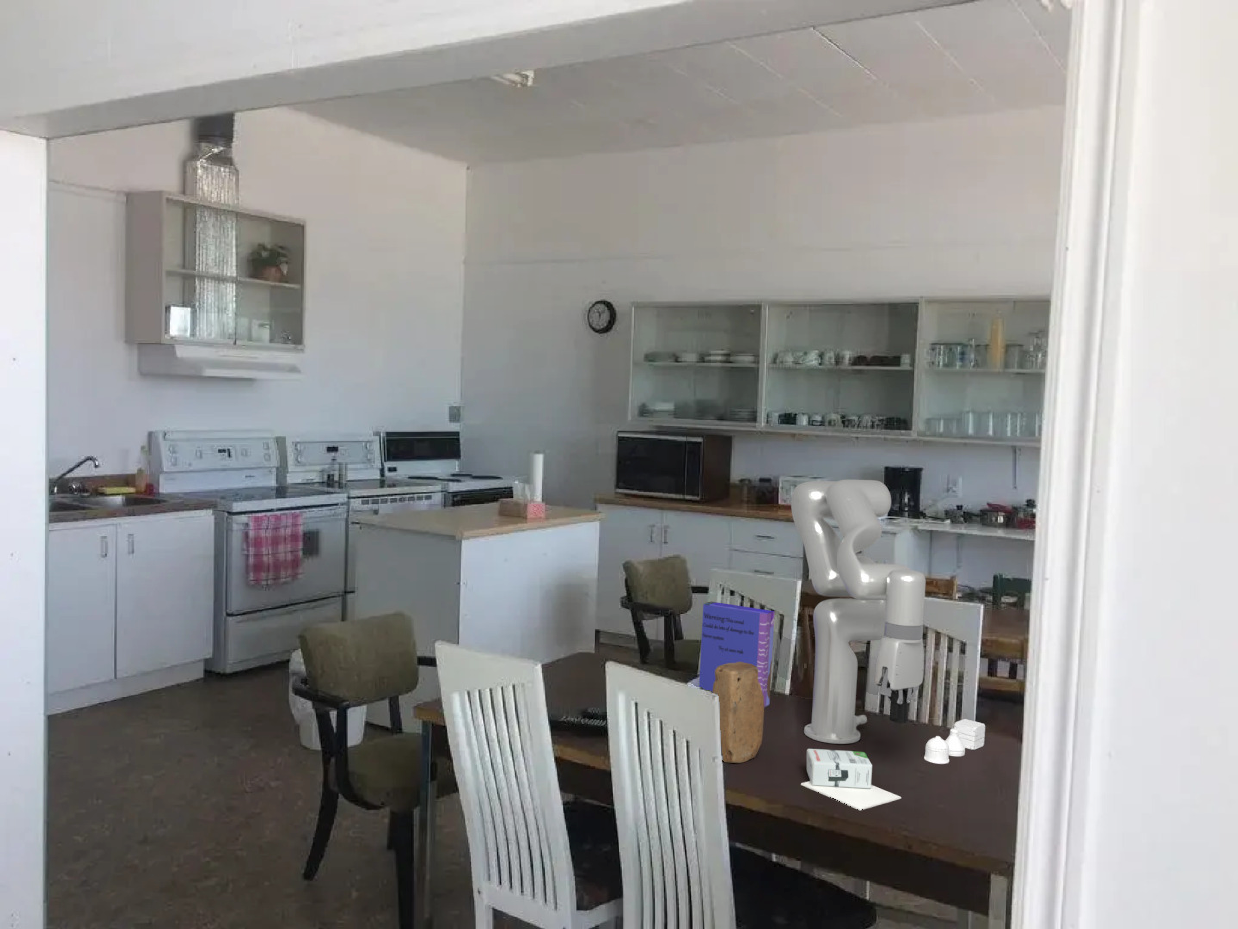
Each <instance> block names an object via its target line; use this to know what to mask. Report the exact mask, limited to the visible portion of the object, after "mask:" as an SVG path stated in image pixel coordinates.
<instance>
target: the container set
mask: <svg viewBox="0 0 1238 929" xmlns="http://www.w3.org/2000/svg"><path fill="white" fill-rule="evenodd" d="M954 722H955V721H954ZM949 730H950V731H949V735H948V737H947V738H946V739H945V740H944V739H943V738H942V737H941V736H939V735H936V736H935V737H932V738H930V739H929V740H928V741H927V743H926V744H925V746H924V747H925V748H924V749H925V751H924V752H925V754H924V756H923V758H924V760H925V761H927V762H928V763H929V762H930V763H933V764H936V765H937V764H939V765H944V764H949V762H950V759H949V756H951V757H963V756H965V753H966V749H968V750H973V751H974V750H977V749H979V748H982V747H984V745H985V737H986V736H985V734H986V725H985V723H982V722H978V721H975V720H971V719H967V718H963V719H960V720H958V721H956V722H955V723H954V724H953V728H951V729H949Z"/></svg>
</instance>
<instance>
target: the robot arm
mask: <svg viewBox="0 0 1238 929" xmlns="http://www.w3.org/2000/svg"><path fill="white" fill-rule="evenodd" d="M790 506H791V508H790V509H791V515H792V519H793V522H794V525H795V528H796V529H797V532H798V534H799V536H800V538H801V540H802V543H803V547H804V552H805V556H806V561H807V564H808V570H809V574H810V580H811V582H812V587H813V589H814V590H815V592H816V593H817V594H818V595H820V596H824V597H840V598H829V599H825V600H822V601H820V602H819V603H818V604H817V605H816V606H815V608H814V610H813V616H812V617H813V618H812V619H813V628H814V637H815V639H814V640H815V655H814V656H815V658H814V680H813V691H812V710H811V711H812V712H811V723H809V724H807V725H805V726H804V730H803V733H804V734H805V736H807V737H808V738H810V739H812V740H814V741H818V742H821V743H827V744H835V745H836V744H837V745H846V744H854V743H857V742H858V741H859V740H860V739H861V732H860V731H859V730H858V729H857V727H858V726H859V725H864V724H865V723H867V722H868V719H867V715H865V714H861V715H855V713H856V698H857V696H856V695H857V680H858V664H859V663H858V659H857V655H856V654H855V652H854V650H853V649H852V648H851V646H850V644H849V643H850V642H858V641H859V642H861V641H863V642H864V641H880V642H879V647H878V653H877V659H876V664H875V666H876V667H875V675H874V676H875V677H874V678H875V679H874V681H875V682H874V683H875V685H876V686H879V687H880V691H879V694H880V695H882V696H885V697H887V698H888V701H889V717H888V718H889V721H891V722H894V723H897V724H900V725H901V724H905V723H907V722H908V713H909V712H908V711H909V703H911V699H912V695H913V693H915V692H916V691H918V690H919V689H920V685H921V684H923V680H924V671H925V653H924V652H925V650H924V642H923V640H924V639H923V632H924V615H925V614H924V612H925V599H926V598H925V597H926V584H927V582H926V577H925V575H924V574H923V573H922V572H921V571H917V570H912V569H911V568H909V567H908V566H906V565H905V564H899V563H898V564H897V563H888V564H887V563H875V562H876V561H874V560H873V559H871V558H870V557H868V556H864V555H857V553H860V552H861V551H864V550H866V549H867V548H869V547H872V546H873V545H875V544H876V543H877V542H878V541H879V539H880V537H881V535H882V532H883V527H882V525H881V522H880V521H879V519H878V518H881V517H885V516H886V515H887V514H888V513H889V511H890V510H891V507H892V497H891V492H890V491H889V489H888V487H887V486H886V484H884V483H883V482H882V481H879V480H874V479H849V478H848V479H840V480H837V481H836V480H835V481H834V480H811V481H806V482H805V481H804V482H802V483H799V484H798V485H797V486H796V487H795V488H794V490H793V492H792V496H791V502H790ZM824 517H829V518H834V520H835V521H834V522H835V523H836V525H837V527H838V529H839V532H840V533H841V535H842V538H843V539H842V540H841V538H840V536H839V534H838V532H836V530H835V528H834V527H832V526H831V525H830V523H828V522H827V521H826V520H825V519H824ZM841 597H845V598H841ZM846 597H847V598H846ZM850 597H852V598H850Z"/></svg>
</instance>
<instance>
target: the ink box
mask: <svg viewBox="0 0 1238 929" xmlns="http://www.w3.org/2000/svg"><path fill="white" fill-rule="evenodd" d="M806 772H807V776H808V778H809V781H811V784H812V785H818V786H835V787H851V788H868V789H871V785H872V775H873V774H872V773H873V763H871V761H870V759H869V758H868V756H867V753H866V752H864V751H854V750H853V751H852V750H840V749H839V750H837V749H822V748H821V749H820V748H807V749H806Z"/></svg>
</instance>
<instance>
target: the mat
mask: <svg viewBox="0 0 1238 929" xmlns="http://www.w3.org/2000/svg"><path fill="white" fill-rule="evenodd" d="M800 786H803V787H805V788H807V789H809V790H811V791H815V792H817V793H818V792H819V794H821V795H823V796H826V797H828V798H830V797H831V798H830V799H832V798H834V799H836V800H835V801H837V800H838V801H837V802H839V801H840V802H839V803H842V804H844V803H845V804H844V805H846V804H847V805H846V806H848V807H850V806H851V808H853V809H856V810H857V809H858V811H863V810H866V809H867V810H868V809H871V808H873V807H877V806H880V805H883V804H888V803H891V802H893V801H894V802H895V801H897V800H900V799H902V797H901V796H899V795H898V794H894V793H893V792H890V791H887V790H884V789H882V788H879V787H877V786H875V785H873V784H871V789H868V788H851V787H835V786H818V785H812V784H811V781H810V780H809V781H804V782H801V783H800ZM834 799H833V800H834ZM862 809H863V810H862Z"/></svg>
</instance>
